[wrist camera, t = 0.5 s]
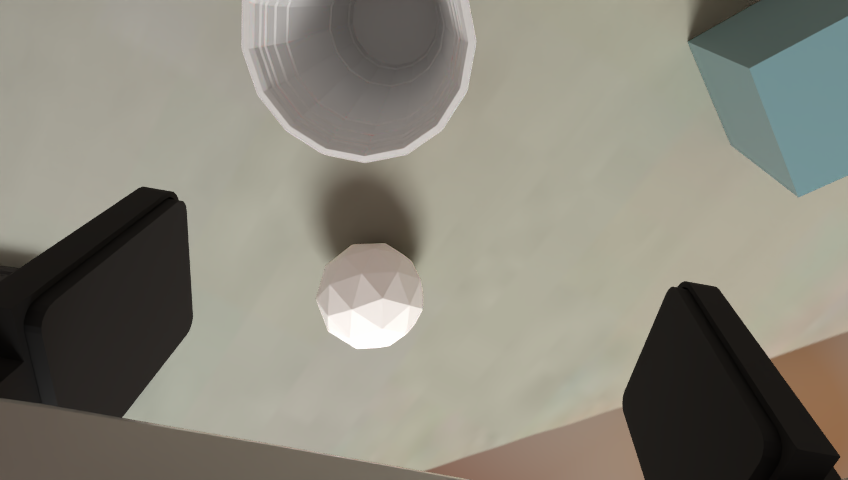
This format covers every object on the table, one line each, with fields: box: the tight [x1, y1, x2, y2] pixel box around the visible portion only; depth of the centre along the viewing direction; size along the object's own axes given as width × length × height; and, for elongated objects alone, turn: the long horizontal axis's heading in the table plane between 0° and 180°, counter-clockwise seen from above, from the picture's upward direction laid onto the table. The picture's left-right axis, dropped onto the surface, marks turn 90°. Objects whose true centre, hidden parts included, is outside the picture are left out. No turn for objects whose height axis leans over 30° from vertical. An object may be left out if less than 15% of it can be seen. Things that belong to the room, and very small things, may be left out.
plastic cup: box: [241, 0, 477, 163], centre depth 29 cm, size 11×11×12 cm
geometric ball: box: [316, 243, 423, 349], centre depth 40 cm, size 8×8×8 cm
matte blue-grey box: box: [688, 0, 848, 197], centre depth 30 cm, size 8×8×9 cm
